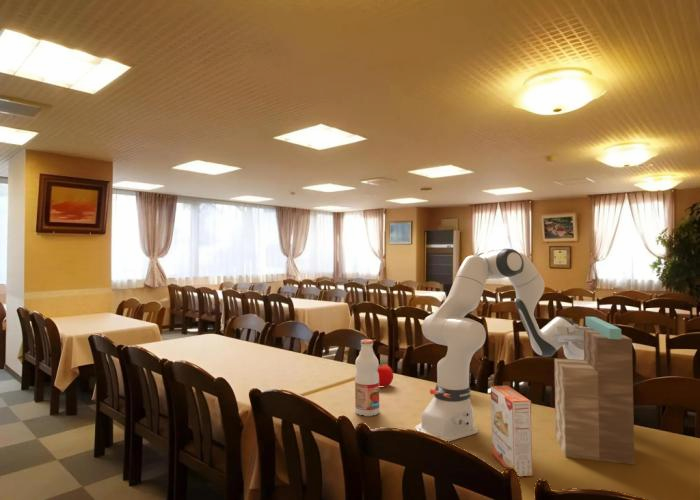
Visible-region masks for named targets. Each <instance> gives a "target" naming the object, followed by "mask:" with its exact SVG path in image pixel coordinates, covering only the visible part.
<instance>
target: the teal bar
mask: <svg viewBox="0 0 700 500" xmlns="http://www.w3.org/2000/svg"><path fill="white" fill-rule="evenodd" d="M584 319H585V327H590V328H591V329H593V330H595V331H597V332H598V333H600V334H602V335H604V336H605V337H607V338H609V339H621V334H622V329H621V328H619V327H618V326H616V325H614V324H611V323H609V322H607V321H605V320H603V319H601V318H598V317H596V316H585V318H584Z"/></svg>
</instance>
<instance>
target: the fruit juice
mask: <svg viewBox="0 0 700 500" xmlns="http://www.w3.org/2000/svg"><path fill="white" fill-rule="evenodd" d="M360 345H361V346H360V352H359V354H358V356H357V357H356V359H355V364H354V365H355V369H356V372H355V375H354V385H355V386H354V389H355V390H354V396H355V397H354V399H355V400H354V401H355V403H354V405H355V406H354V407H355V414H357V415H358V414H359V416H361V415H364V416H363V417H373V415H374V416H376V415H378V414H379V412H380V387H379V374H378V371H377V370H378V365H379V359H378V358H377V356H376V353H375V351H374V349H373V345H374V340H373V339H370V338H365V339H361V340H360Z"/></svg>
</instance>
